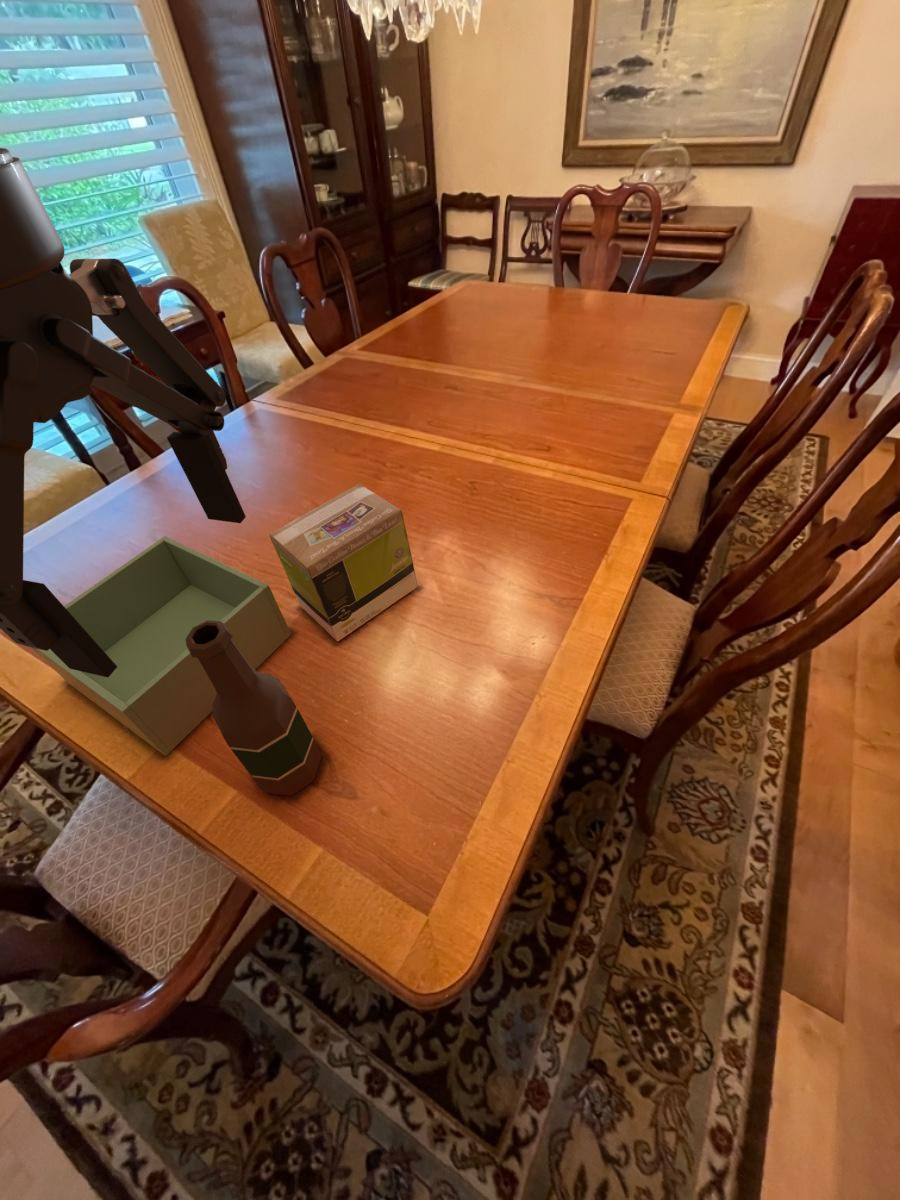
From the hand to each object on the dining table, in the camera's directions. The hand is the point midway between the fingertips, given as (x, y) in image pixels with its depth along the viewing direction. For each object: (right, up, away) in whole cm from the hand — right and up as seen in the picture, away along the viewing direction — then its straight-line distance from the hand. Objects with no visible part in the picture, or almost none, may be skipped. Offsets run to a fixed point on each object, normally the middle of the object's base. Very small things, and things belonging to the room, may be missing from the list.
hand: (169, 583), depth 34 cm
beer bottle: (0, -20, +28) cm, 34 cm away
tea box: (+4, -1, +46) cm, 46 cm away
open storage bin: (-19, -9, +40) cm, 46 cm away
